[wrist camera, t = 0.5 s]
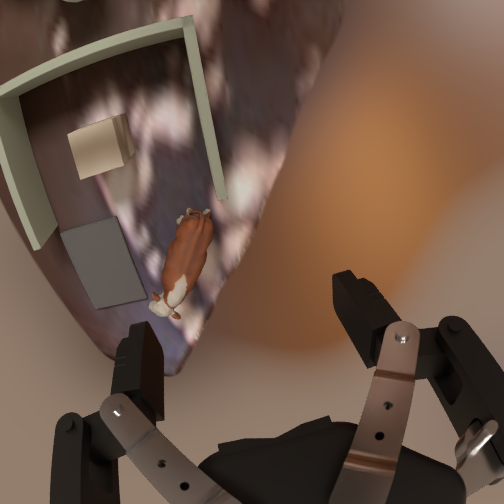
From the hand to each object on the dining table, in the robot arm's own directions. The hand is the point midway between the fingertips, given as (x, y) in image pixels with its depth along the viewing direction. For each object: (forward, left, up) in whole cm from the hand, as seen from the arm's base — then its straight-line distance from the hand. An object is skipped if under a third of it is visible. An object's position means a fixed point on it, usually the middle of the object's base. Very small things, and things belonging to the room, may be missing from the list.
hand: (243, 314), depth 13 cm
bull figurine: (+9, -5, -25) cm, 27 cm away
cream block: (-6, -10, -25) cm, 28 cm away
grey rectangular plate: (+9, -16, -25) cm, 31 cm away
